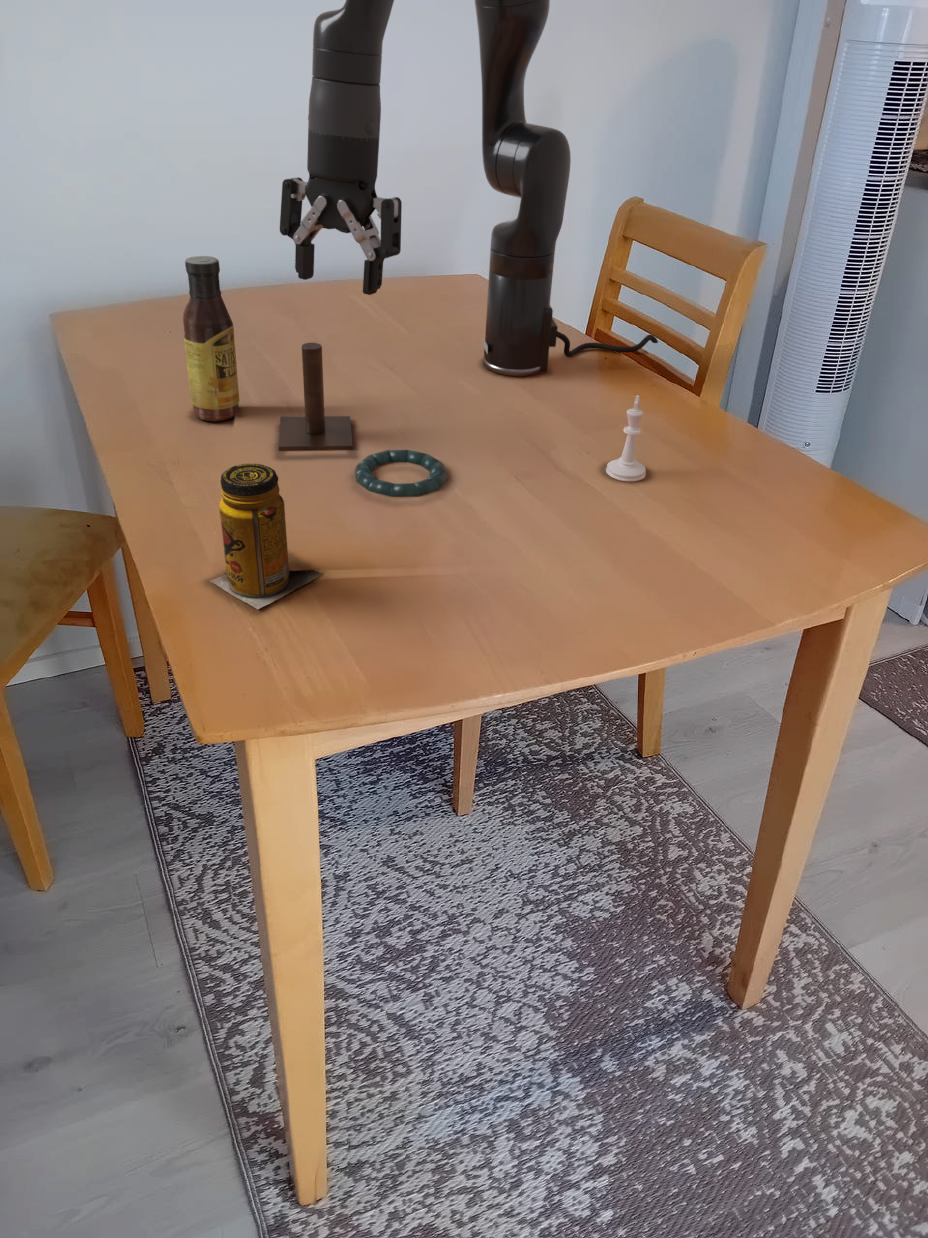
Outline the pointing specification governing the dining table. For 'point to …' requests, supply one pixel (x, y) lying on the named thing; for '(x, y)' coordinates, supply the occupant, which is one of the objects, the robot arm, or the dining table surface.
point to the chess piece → (629, 450)
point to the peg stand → (314, 413)
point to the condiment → (256, 537)
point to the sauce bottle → (209, 344)
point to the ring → (403, 489)
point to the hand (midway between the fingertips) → (337, 285)
